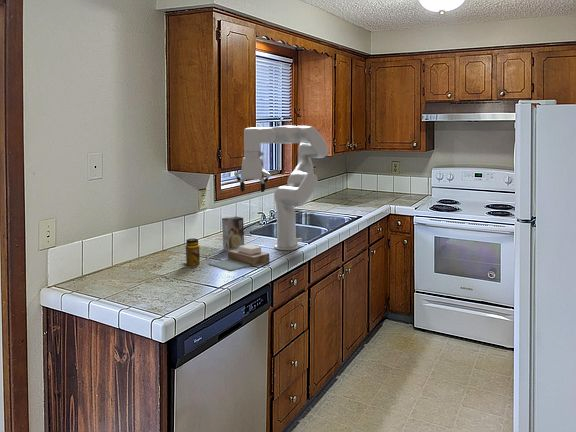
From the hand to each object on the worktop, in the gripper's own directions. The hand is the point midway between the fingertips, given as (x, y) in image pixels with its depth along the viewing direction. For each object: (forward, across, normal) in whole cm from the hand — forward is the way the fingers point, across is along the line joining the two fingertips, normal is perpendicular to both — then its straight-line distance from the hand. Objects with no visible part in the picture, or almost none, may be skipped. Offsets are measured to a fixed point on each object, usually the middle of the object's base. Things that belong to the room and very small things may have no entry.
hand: (252, 191), depth 257 cm
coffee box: (+32, +15, -13) cm, 37 cm away
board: (+32, 0, +7) cm, 32 cm away
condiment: (+32, +23, +20) cm, 44 cm away
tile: (+28, 0, +6) cm, 28 cm away
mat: (+32, +6, +17) cm, 36 cm away
